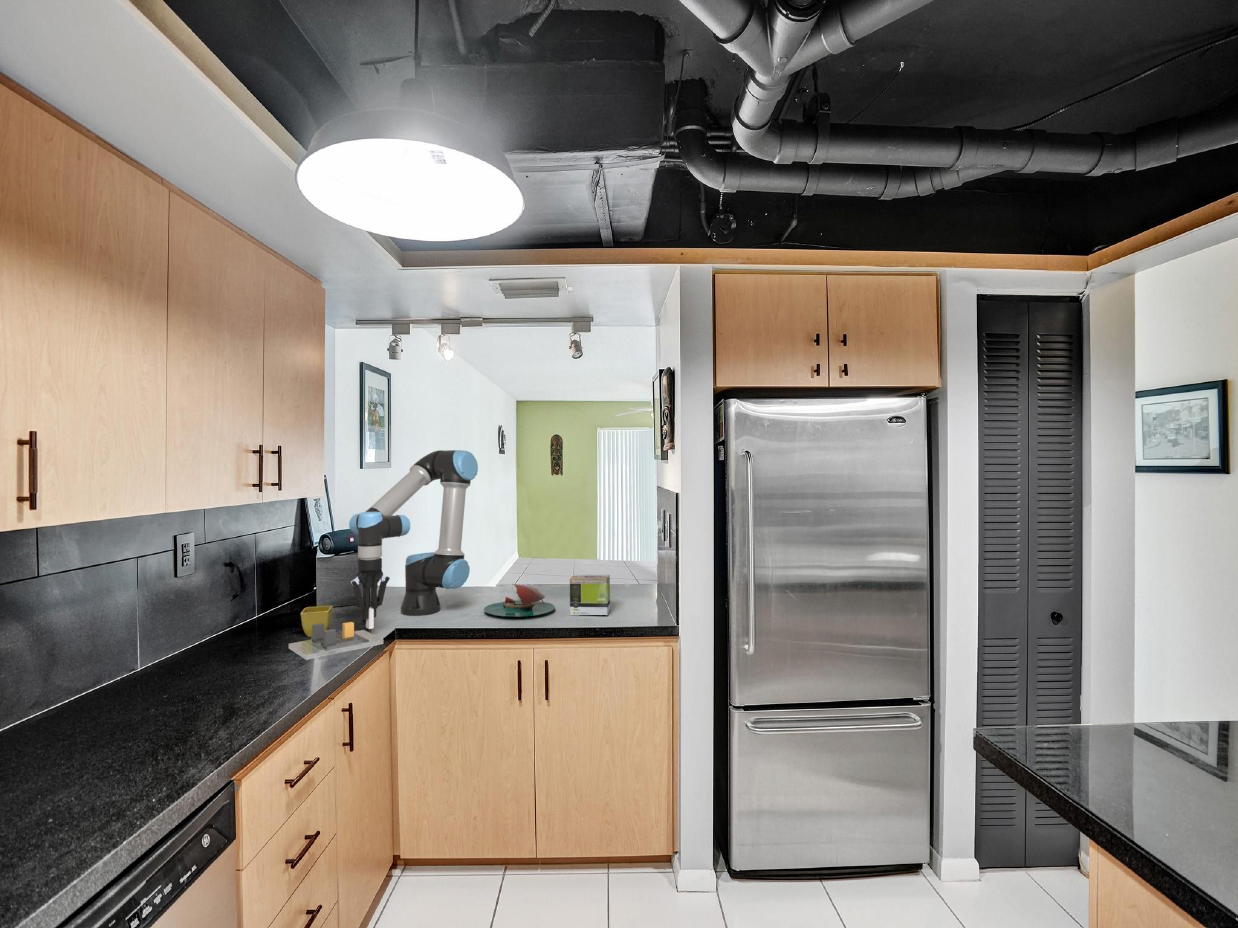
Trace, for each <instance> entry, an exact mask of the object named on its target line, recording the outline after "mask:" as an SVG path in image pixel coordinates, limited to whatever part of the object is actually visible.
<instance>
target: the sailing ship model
mask: <svg viewBox="0 0 1238 928" xmlns="http://www.w3.org/2000/svg"><path fill="white" fill-rule="evenodd" d="M513 585H514V587H515V588H516V594H517V596H518V597H519V599H512V598H511V597H507V596H505V600H504V601H500V602H495V603H491V604H488V605H486V606H485V607H484V608H483V611H484V612H485V613H487V614H490V615H493V616H500V617H530V616H531V617H532V616H540V615H543V614H548V613H549V612H552V611H553V610H555V607H556V606H555V605H554V604H553V603H550V602H548V601H547V602H546V601H544V599H545V598H546V596H545V594H543V593H541V591H539V589H538V588H535V587H531V586H527V585H523V584H515V583H513ZM511 589H512V591H513V587H512V588H511Z"/></svg>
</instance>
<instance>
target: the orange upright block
mask: <svg viewBox="0 0 1238 928" xmlns="http://www.w3.org/2000/svg"><path fill="white" fill-rule="evenodd" d="M341 626H342V627H341V629H342V630H341V632H342V639H343V638H348V637H354V631H355V622H353V621H348V622H344V623H342V624H341Z"/></svg>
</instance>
